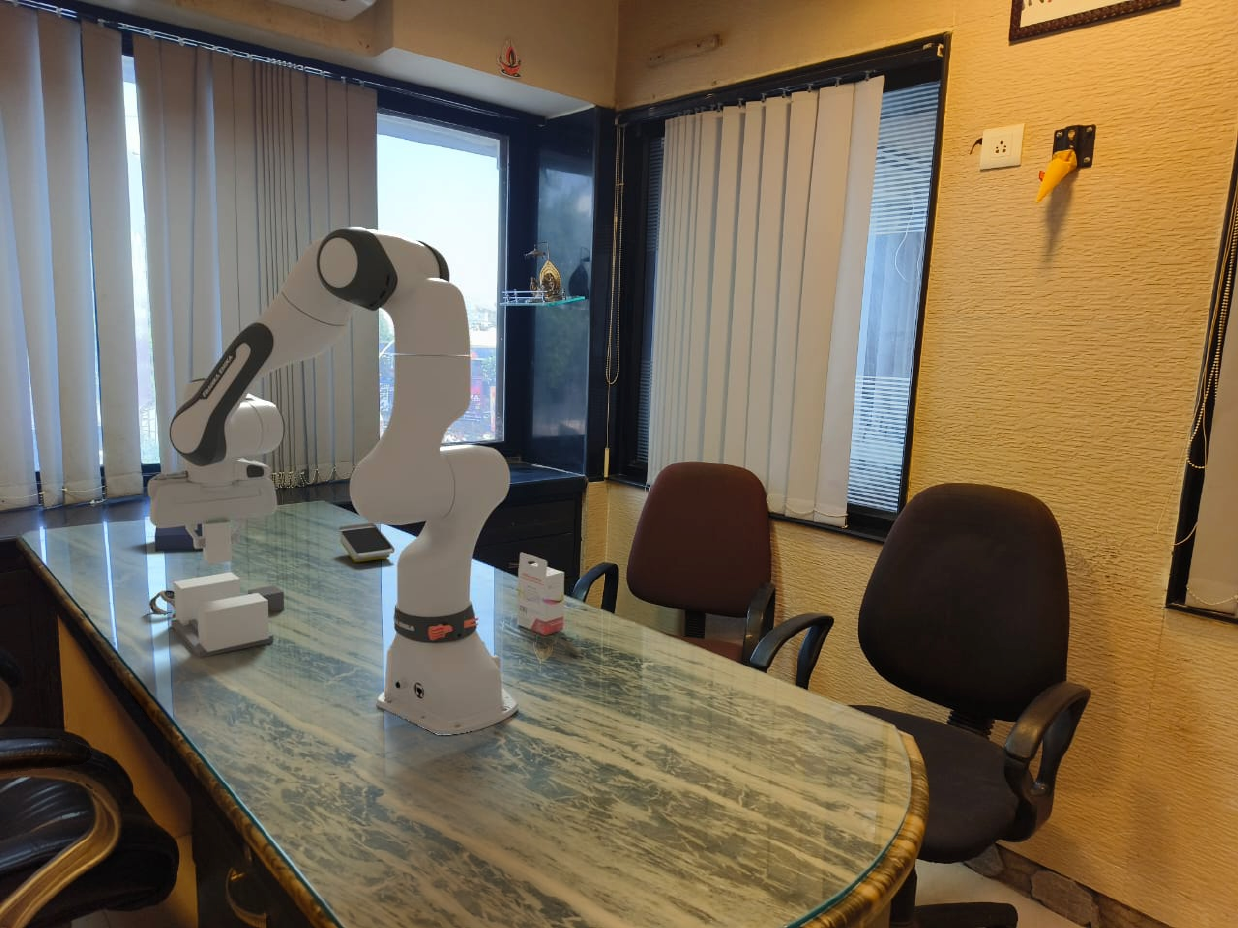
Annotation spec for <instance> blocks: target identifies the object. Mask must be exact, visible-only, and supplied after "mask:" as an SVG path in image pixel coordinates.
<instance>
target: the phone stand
mask: <svg viewBox="0 0 1238 928" xmlns="http://www.w3.org/2000/svg"><path fill="white" fill-rule="evenodd" d="M197 525H198V529H197V530H194V531H195V533H196V534H197V535H198V537H200V536H202V537H203V532H202V524H197ZM154 549H155V550H154V551H155V552H174V551H176V552H177V551H195V550H196V551H198V550H203V548H199V549H196V548H194V542H193V537H192V536H191V535H190V534H189V532H188V531H187V530H186V525H185V526H177V527H169V528H158V527H156V526H155V532H154Z"/></svg>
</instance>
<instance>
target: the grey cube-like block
mask: <svg viewBox="0 0 1238 928" xmlns="http://www.w3.org/2000/svg"><path fill="white" fill-rule="evenodd" d="M255 593H259V594H260V595H261V596H263V597H264V598H265V599H266V600H268V614H269V613H274V612H279V611H284V610H285V597H284V596H285V594H284V593H285V592H284V591H283V590H282V589H280V588H279V587H278V586H276V585H273V584H272V585H269V586H263V587H258V588H252V589H248V594H247V595H249V594H255Z"/></svg>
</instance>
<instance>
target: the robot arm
mask: <svg viewBox="0 0 1238 928" xmlns="http://www.w3.org/2000/svg"><path fill="white" fill-rule="evenodd" d="M358 306H359V307H361V308H364V309H366V310H367V311H370V312H376V311H378V310H380V309H381V310H383V311H384V312H385V313H386V314H387V315H388V316H389V318H390V319H391V321H392V324H393V332H394V333H393V334H394V340H393V342H394V347H393V348H394V349H393V353H394V354H393V355H394V363H393V364H394V377H393V379H394V380H393V381H394V382H393V384H394V385H393V402H392V408H391V413H390V417H389V420H388V423H387V425H386V427H385V429H384V432H383V434H382V436H381V437H380V439H379V441H378V442H377V443H376V445H375V446H374V448H373V449H371V450H370V452H369V453H368V454H367V455H366V456H364V457H363V458H362V459H361V460H360V461H359V462H357V464H356V466H355V467H354V470H353V472H352V474H351V477H350V481H349V497H350V499H351V502H352V506H353V508H354V509H355V511H356V512H357V514H358V515H359V516H360V517H361V518H362V519H363V520H364V521H365V522H366V523H374V524H375V525H378V524H380V525H391V526H392V525H393V526H394V525H396V526H398V525H399V526H402V525H408V524H415V523H420V522H425V521H426V522H425V524H424V526H423V527H422V529H421V531H420V533H419V534H418V536H417V537H416V538H415V539H414V540H413V541H411V542H410V543H409V544H407V546H406V547H404V549H402V551H401V553H400V554H399V557H398V558H397V559H398V560H397V564H396V585H397V586H396V589H397V591H396V595H397V597H396V598H397V599H396V600H397V601H396V604H395V605H394V611H393V622H394V623H393V626H394V627H393V628H394V629H393V630H395V635H394V638H393V640H392V642H391V644H390V646H389V647H388V650H386V651H387V652H386V662H385V663H386V664H385V676H384V689H383V690H384V691H383V692H382V693H380V694H379V695H378V696H377V699H376V706H377V707H378V708H381V709H382V708H383V709H382V710H384V709H385V711H386V710H387V712H388V711H389V713H390V712H392V713H391V714H393V713H394V714H393V715H395V714H396V715H395V716H397V715H399V716H401V717H403V718H404V719H403V718H402V719H403V720H405V719H407V720H409V721H411V722H413V723H415V724H417V725H419V726H421V727H424V728H426V729H427V730H430V731H432V732H434V733H437V734H441V735H443V734H458V735H461V734H460V733H464V734H467V733H466V732H468V733H471V732H470V731H472V732H475V731H478V730H481V729H485V728H487V727H490V726H492V725H495V724H497V723H501V722H502V721H504V720H506V719H508V718H509V717H511V716H512V715H513V714H515V713H516V712H517V711H518V708H519V706H518V702H517V700H515V699H514V697H513V696H511V694H510V693H508V691H506V689H505V688H504V687H503V686H502V685H503V684H502V675H501V670H500V669H501V660H500V657H499V656H498V655H496V654H494V655H491V653H490V652H489V649H488V648H487V646H486V643H485V641H483V639H482V638H481V637H480V635H479V633H478V632H477V627H478V625H479V623H477V622H476V621H478V620H479V618H478V617H476V613H475V611H474V608H473V604H472V601H471V573H472V561H473V554H474V550H475V548H476V547H475V546H476V543H477V542H478V541H477V540H478V539H479V535H480V533H481V531H482V529H483V527H484V525H485V523H486V521H487V520H488V518H489V516H491V514H492V513H493V511H494V510H495V509H496V508H497V507H498V506H499V505H500V504H501V503H502V502H503V501H504V500H505V499H506V497H507V494H508V492H509V489H510V484H511V474H510V473H511V472H510V469H509V464H508V463H507V461H506V458H505V457H504V456H503V455H502V454H501V452H499V451H498V450H497V449H495V448H494V447H490V446H484V445H476V444H468V443H467V444H465V443H464V444H457V445H456V444H455V445H445V446H444V445H443V446H442V442H443V439H444V437H445V435H446V432H447V431H448V430H449V428H450V427H451V425H452V424H453V423H455V422H456V421H458V420H459V419H461V418H462V417H463V416H464V415H465V414H466V412H467V411H469V407H470V405H471V402H472V401H471V400H472V399H471V398H472V397H471V395H472V393H471V391H472V390H471V387H472V386H471V385H472V383H471V382H472V381H471V378H472V376H471V372H472V371H471V370H472V369H471V368H472V367H471V365H472V364H471V363H472V362H471V336H470V327H469V319H468V318H469V317H468V312H467V307H466V302H465V298H464V295H463V292H462V291H461V290H460V288H458V286H456V284H453V283H452V282H450V270H449V265H448V263H447V261H446V259H445V257H444V256H443V254H442V253H441V252H440V251H439V250H437V248H435V247H433V246H432V245H430V244H428V243H426V242H424V241H421V240H416V239H415V240H414V239H411V238H408V237H405V236H402V235H400V234H397V233H395V232H391V231H386V230H385V231H384V230H377V229H366V228H364V227H360V226H348V227H342V228H338V229H335V230H333V231H331V232H329V233H328V234H327V235H326V236H324V237H320V238H318V239H316V240H314V241H312V243H310V245H309V246H308V247H307V248H306V250H305V251H303V253H302V255H301V256H300V257H299V258H298V259H297V261H296V262H295V264H294V265H293V267H292V268H291V270H290V271H289V273H288V275H287V276H286V278H285V281H284V282H283V284H282V286H281V287H280V289H279V291H278V293H277V294H276V296H275V297H274V298H273V300H272V301H271V302H270V304H269V305H268V306H267V307H266V308H265V310H264V311H263V312H262V313H261V314H260V315H259V316H258V317H257V318H256V319H255V320H254V321H253V322H252V323H250V324H249V325H247V326H246V327H245V328H244V329H243V330H242V331H240V333H238V335H237V336H236V337H235V338H234V339H233V340H232V342H231V343H230V345H229V346H228V347H227V348H226V350H225V351H224V353H223V355H222V356H221V357H220V359H219V360H218V362H217V363H216V364H215V365H214V367H213V369H212V370H211V372H210V373H209V374H208V376H207V377H202V378H201V377H200V378H196V379H192V380H191V381H190V382H188V383H187V384H186V386H185V389H184V393H183V398H182V399H183V400H182V401H183V403H182V405H181V406H180V407H179V408H178V410H177V411H176V412H175V413H174V416H173V418H172V420H171V423H170V427H169V439H170V441H171V446H172V447H173V448H174V450H175V451H176V452H177V453H178V454H179V455H180V456H181V457H182V458H183V459H184V463H185V464H184V466H185V469H184V471H174V472H167V473H166V472H161V473H158V474H156V475H155V476H153V477H151V478H150V479H149V480H148V482H147V487H146V488H147V495H148V497H149V498H150V502H149V504H150V507H149V520H150V523H151V524H152V525H153V526H155V528H156V527H158V528H169V527H177V526H185V525H186V530H187V531H188V532H189V534H190V535H191V536H192V537H193V542H194V548H196V549H199V548H205V544H204V543H205V538H203V537H202V536H200V537H198V535H197V534H196V533H195V531H194V530H197V529H198V525H197V524H202V523H208V521H214V520H223V519H227V520H230V521H232V520H234V523H236V525H235V527H234V530H233V531H231V540H232V545H233V544H240V543H241V534H242V532H243V530H244V529H245V527H246V526H247V519H249V518H257V517H266V516H273V515H274V514H275V513H276V511H277V510H278V499H277V492H276V487H275V483H274V482H273V481H272V479H270V478H269V476H270V475H271V468H270V466H269V465H267V464H266V463H263V462H260V461H257V460H253V459H250V458H249V457H252V456H259V455H264V454H268V453H271V452H273V451H275V450H277V449H278V448H279V447H280V446H281V445H282V443H283V440H284V439H285V435H286V421H285V418H284V415H283V414H282V411H281V410H280V408H279V407H278V406H277V405H276V404H275V403H274V402H272V401H270V400H267V399H266V400H265V399H262V398H259V397H257V396H255V395H252V394H250V392H251V391H252V389H253V388H254V386H255V385H256V384H257V383H258V382H259V381H260V380H261V379H262V378H263V377H265V376H267V375H268V374H270V373H272V372H274V371H276V370H278V369H282V368H284V367H286V366H289V365H292V364H297V363H300V362H303V361H306V360H311V359H314V358H317V357H320V356H322V355H324V354H326V353H327V352H328V351H329V350H331V348H332V347H333V346H334V345H335V344H336V343H337V342H338V341H339V339H340V338H341V337H342V335H343V333H344V331H345V330H346V327H347V326H348V324H349V322H350V321H351V319H352V317H353V315H354V314H355V311H356V310H357V308H358ZM399 716H398V717H399ZM401 717H400V718H401ZM407 720H406V721H407ZM409 721H408V722H409ZM411 722H410V723H411ZM413 723H412V724H413ZM415 724H414V725H415ZM417 725H416V726H417ZM419 726H418V727H419ZM421 727H420V728H421ZM427 730H426V731H427Z"/></svg>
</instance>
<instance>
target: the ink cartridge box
mask: <svg viewBox="0 0 1238 928" xmlns="http://www.w3.org/2000/svg"><path fill="white" fill-rule="evenodd" d="M529 562H533V563H531V564H530V563H529ZM518 563H519V564H518V570H517V571H518V573H517V574H518V578H517V622H516V623H517V625H518V626H522V627H524V628H526V629H528V630H531V631H533V632H535V633H537V634H540V635H542V636H548V635H550V634H554V633H557V632H560V631H563V628H564V596H565V595H564V591H565V588H564V587H565V586H564V585H565V584H564V583H565V572H564V571H561V570H557V569H555V568H552V567H549V566H548V561H547V560H546V559H543V558H539V557H538V556H534V555H531V554H529V553H528V554H527V553H524V552H523V551H522V552H520V553H519V562H518Z"/></svg>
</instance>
